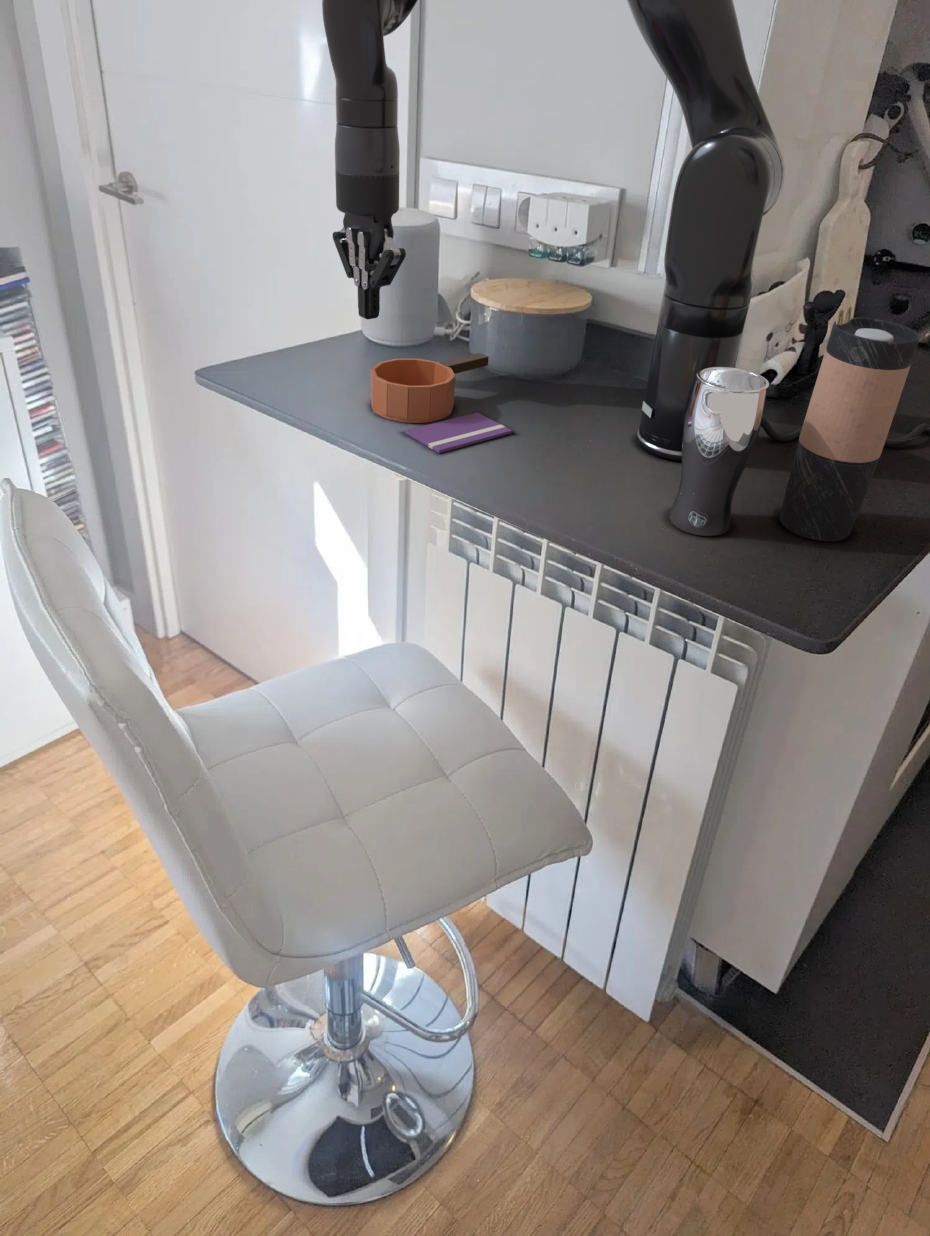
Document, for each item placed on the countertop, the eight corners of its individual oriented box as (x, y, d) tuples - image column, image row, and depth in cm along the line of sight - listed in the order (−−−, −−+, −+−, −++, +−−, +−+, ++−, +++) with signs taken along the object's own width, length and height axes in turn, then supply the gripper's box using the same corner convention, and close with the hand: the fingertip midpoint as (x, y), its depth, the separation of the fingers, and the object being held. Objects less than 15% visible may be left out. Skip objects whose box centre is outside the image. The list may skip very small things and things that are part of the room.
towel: (477, 415, 112) (477, 412, 112) (512, 433, 108) (512, 430, 108) (405, 433, 106) (405, 430, 106) (439, 453, 102) (439, 450, 102)
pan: (456, 377, 123) (458, 343, 120) (507, 400, 117) (511, 365, 114) (355, 402, 113) (355, 366, 110) (405, 429, 107) (406, 391, 104)
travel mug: (858, 548, 90) (929, 347, 78) (779, 536, 91) (838, 336, 79) (847, 513, 96) (912, 322, 84) (773, 502, 97) (827, 312, 86)
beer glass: (682, 499, 96) (712, 360, 88) (744, 521, 93) (782, 378, 84) (652, 523, 91) (682, 377, 83) (717, 546, 88) (755, 398, 80)
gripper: (427, 174, 105) (423, 326, 114) (362, 158, 113) (363, 300, 123) (373, 178, 100) (374, 335, 110) (310, 161, 109) (316, 308, 118)
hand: (368, 316), depth 116 cm, fingers closed
